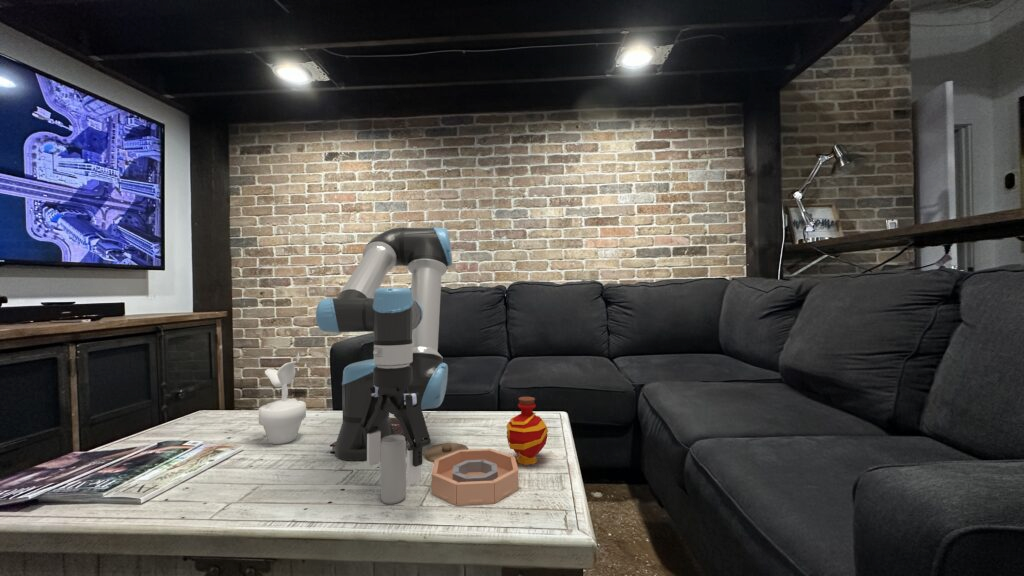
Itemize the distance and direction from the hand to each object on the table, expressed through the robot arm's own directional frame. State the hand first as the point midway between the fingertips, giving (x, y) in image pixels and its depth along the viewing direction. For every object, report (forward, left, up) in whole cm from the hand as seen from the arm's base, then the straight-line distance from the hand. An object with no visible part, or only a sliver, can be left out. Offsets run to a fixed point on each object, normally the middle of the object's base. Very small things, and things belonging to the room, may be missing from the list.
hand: (392, 472), depth 82 cm
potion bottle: (+9, +32, -6) cm, 34 cm away
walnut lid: (-9, +22, -6) cm, 25 cm away
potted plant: (-53, 0, -6) cm, 53 cm away
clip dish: (+8, +15, -5) cm, 18 cm away
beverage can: (0, 0, -6) cm, 6 cm away
